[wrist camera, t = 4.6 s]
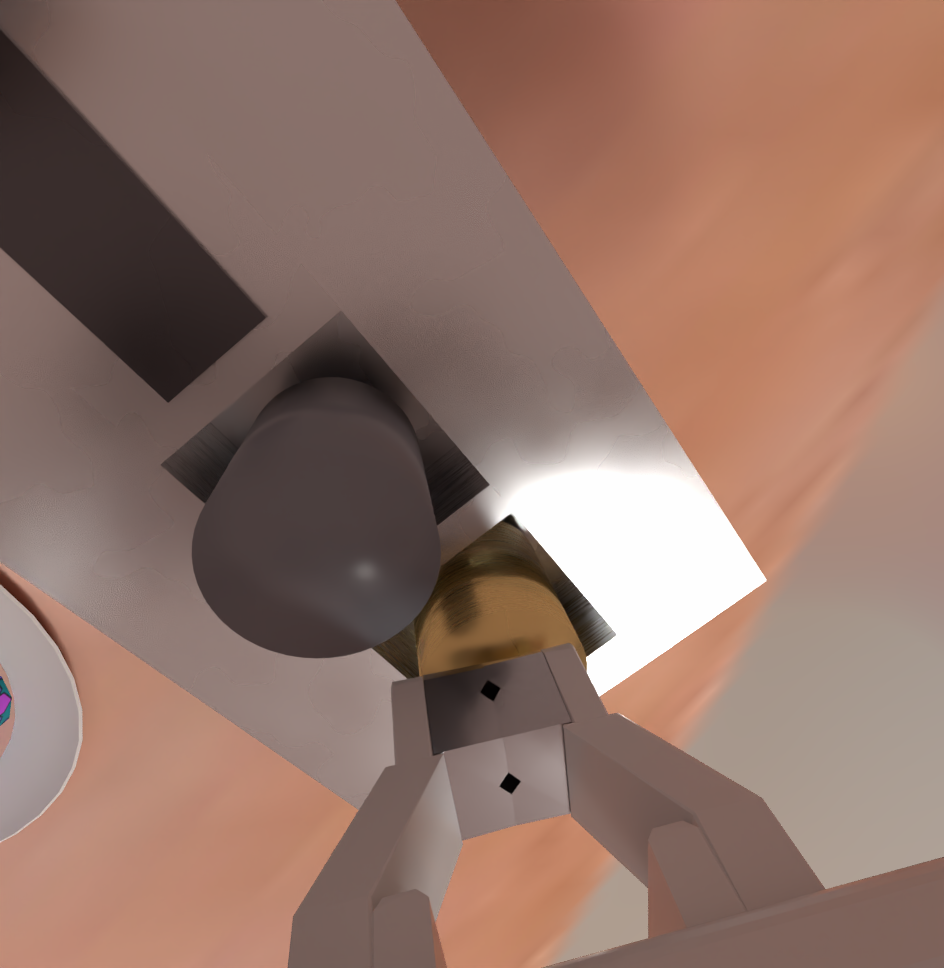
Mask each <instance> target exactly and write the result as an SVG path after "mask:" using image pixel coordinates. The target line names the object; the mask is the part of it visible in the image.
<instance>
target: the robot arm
mask: <svg viewBox="0 0 944 968" xmlns="http://www.w3.org/2000/svg"><path fill="white" fill-rule="evenodd" d="M391 704H392V721H393V739H394V757H395V765H392V766H388V767H385V769H384V770H383V772H382V773H381V775H380V777H379V778H378V780H377V782H376V783H375V785H374V786H373V788H372V790H371V791H370V793H369V795H368V796H367V798H366V799H365V801H364V803H363V804H362V806H361V807H360V809H359V811H358V812H357V814H356V816H355V817H354V819H353V820H352V822H351V824H350V825H349V827H348V829H347V830H346V832H345V833H344V835H343V837H342V838H341V840H340V842H339V843H338V845H337V846H336V848H335V850H334V851H333V853H332V854H331V856H330V858H329V859H328V861H327V863H326V864H325V866H324V867H323V869H322V871H321V872H320V874H319V876H318V877H317V879H316V880H315V882H314V884H313V885H312V887H311V889H310V890H309V892H308V893H307V895H306V897H305V898H304V900H303V901H302V903H301V905H300V906H299V908H298V910H297V911H296V913H295V914H294V916H293V923H292V932H291V941H290V951H289V960H288V968H447V966H446V962H445V958H444V954H443V950H442V946H441V942H440V939H439V935H438V931H437V927H436V923H435V921H436V919H437V916H438V913H439V910H440V907H441V904H442V902H443V899H444V896H445V893H446V890H447V887H448V885H449V882H450V879H451V876H452V873H453V870H454V868H455V865H456V862H457V859H458V856H459V853H460V851H461V848H462V845H463V843H462V840H466V839H469V838H473V837H477V836H480V835H484V834H487V833H491V832H494V831H498V830H501V829H505V828H508V827H512V826H516V825H520V824H525V823H529V822H534V821H538V820H543V819H548V818H552V817H557V816H561V815H566V814H570V813H571V817H573V818H574V819H575V820H576V821H577V822H578V823H579V824H580V825H581V826H582V827H583V828H584V829H585V830H586V831H587V832H589V833H590V834H591V835H592V836H593V837H594V838H595V839H596V840H597V841H598V842H599V843H600V844H601V845H602V846H603V847H604V848H606V849H607V850H608V851H609V852H610V853H611V854H612V855H613V856H614V857H615V858H616V859H617V860H618V861H619V862H620V863H622V864H623V865H624V866H625V867H626V868H627V869H628V870H629V871H630V872H631V873H632V874H633V875H634V876H636V877H637V878H638V879H639V880H640V881H641V882H642V883H643V884H644V885H645V886H646V887H647V888H648V935H649V936H648V939H644V940H640V941H637V942H633V943H630V944H626V945H622V946H619V947H615V948H612V949H608V950H604V951H600V952H597V953H594V954H590V955H586V956H582V957H579V958H575V959H572V960H568V961H564V962H561V963H557V964H553V965H550V966H546V967H543V968H944V857H942V858H938V859H934V860H931V861H927V862H923V863H920V864H916V865H912V866H909V867H906V868H902V869H898V870H894V871H891V872H887V873H884V874H880V875H877V876H872V877H869V878H865V879H862V880H858V881H854V882H851V883H847V884H844V885H840V886H836V887H833V888H829V889H825V888H824V886H823V885H822V883H821V882H820V881H819V879H818V878H817V876H816V875H815V873H814V872H813V870H812V869H811V868H810V866H809V865H808V864H807V862H806V861H805V859H804V858H803V856H802V855H801V853H800V852H799V850H798V849H797V847H796V846H795V845H794V843H793V842H792V840H791V839H790V837H789V836H788V835H787V833H786V832H785V830H784V829H783V827H782V826H781V824H780V823H779V822H778V820H777V819H776V817H775V816H774V814H773V813H772V812H771V810H770V809H769V807H768V806H767V804H766V803H765V802H764V800H763V799H762V798H761V797H759V796H758V795H756V794H754V793H753V792H751V791H749V790H748V789H746V788H744V787H743V786H741V785H739V784H737V783H736V782H734V781H732V780H731V779H729V778H727V777H726V776H724V775H722V774H720V773H719V772H717V771H715V770H714V769H712V768H710V767H709V766H707V765H705V764H704V763H702V762H700V761H699V760H697V759H695V758H693V757H692V756H690V755H688V754H687V753H685V752H683V751H682V750H680V749H678V748H677V747H675V746H673V745H671V744H670V743H668V742H666V741H665V740H663V739H661V738H660V737H658V736H656V735H655V734H653V733H651V732H649V731H648V730H646V729H644V728H643V727H641V726H639V725H638V724H636V723H634V722H633V721H631V720H629V719H627V718H626V717H624V716H622V715H621V714H619V713H614V714H609V715H608V713H607V711H606V709H605V707H604V705H603V703H602V701H601V699H600V697H599V695H598V693H597V691H596V689H595V687H594V685H593V683H592V681H591V679H590V677H589V675H588V673H587V671H586V669H585V667H584V665H583V663H582V661H581V659H580V657H579V655H578V653H577V652H576V650H575V648H574V646H573V645H572V644H570V643H566V644H562V645H558V646H554V647H550V648H546V649H541V651H535V652H531V653H526V654H522V655H518V656H513V657H509V658H504V659H500V660H496V661H491V662H487V663H483V664H478V665H473V666H468V667H463V668H457V669H452V670H447V671H442V672H437V673H432V674H427V675H423V676H420V677H415V678H410V679H405V680H399V681H394V682H392V685H391Z"/></svg>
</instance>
